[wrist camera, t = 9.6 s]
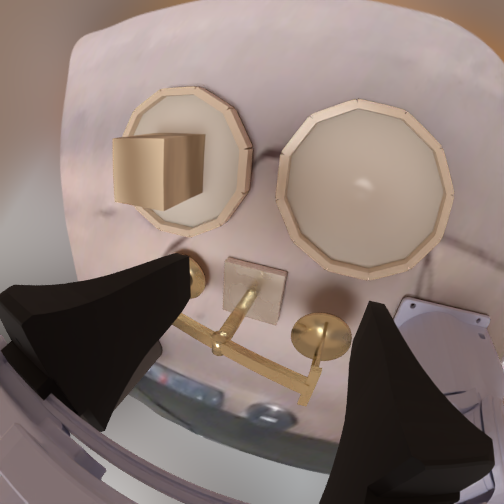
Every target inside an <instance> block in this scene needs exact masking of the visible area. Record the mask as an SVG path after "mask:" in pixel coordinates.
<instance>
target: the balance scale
mask: <svg viewBox="0 0 504 504" xmlns="http://www.w3.org/2000/svg"><path fill="white" fill-rule="evenodd" d="M178 254H179V253H178ZM182 255H184V254H182ZM186 256H187V255H186ZM189 260H190V287H191V298H196V297H198V296H199V295H200V294H201V293H202V292H203V290H204V288H205V276H204V273H203V271H202V269H201V268H200V266H199V265H198V264H197V263H196V262H195V261H194V260H193V259H192V258H190V257H189ZM286 276H287V272H286V271H282V270H278V269H274V268H270V267H266V266H262V265H258V264H254V263H250V262H246V261H242V260H238V259H235V258H231V257H228V258H227V259H226V260H225V264H224V288H223V310H226V311H229V312H232V313H231V314H230V316H229V317H228V319H227V320H226V321H225V323H224V324H223V326H222V327H221V329H220V330H219V331H216V332H214V331H212V330H210V329H209V328H207V327H205V326H203V325H201V324H200V323H198V322H196V321H194V320H193V319H191V318H189V317H187V316H186V315H184V314H182V313H181V314H180V315H179V316H178V318H177V319H176V320H175V321H174V322H173V324H172V325H174V326H175V327H177V328H179V329H180V330H182V331H183V332H185V333H187V334H188V335H190V336H192V337H193V338H195V339H197V340H198V341H200V342H202V343H203V344H205V345H207V346H209V347H210V348H212V353H213V354H214V355H217V356H222V355H224V356H226V357H228V358H230V359H232V360H234V361H235V362H237V363H239V364H241V365H243V366H245V367H247V368H249V369H251V370H252V371H254V372H256V373H258V374H260V375H262V376H264V377H266V378H268V379H270V380H272V381H274V382H277V383H279V384H281V385H283V386H285V387H287V388H289V389H291V390H294V391H296V392H298V393H300V394H301V395H300V397H299V400H298V403H297V404H298V405H302V406H307V404H308V401H309V399H310V397H311V395H312V393H313V390H314V388H315V386H316V384H317V381H318V379H319V377H320V375H321V371H322V368H319V364H320V361H329V360H333V359H336V358H339V357H341V356H342V355H344V354H345V353H346V352H347V351H348V349H349V347H350V345H351V340H352V334H351V330H350V328H349V326H348V325H347V324H346V323H345V322H344V321H343V320H342V319H340V318H339V317H337V316H335V315H332V314H328V313H311V314H308V315H305V316H303V317H301V318H300V319H299V320H298V321H297V322H296V323H295V324H294V326H293V329H292V332H291V340H292V343H293V345H294V347H295V348H296V349H297V351H298V352H300V353H301V354H302V355H304V356H306V357H308V358H310V359H313V361H312V365H311V368H310V372H309V375H308V377H306V376H303V375H301V374H299V373H297V372H294V371H292V370H290V369H288V368H286V367H283V366H281V365H279V364H277V363H275V362H273V361H271V360H269V359H267V358H264V357H262V356H260V355H258V354H256V353H254V352H252V351H250V350H248V349H246V348H244V347H242V346H240V345H239V344H237V343H235V342H233V341H231V338H232V337H233V335H234V334H235V332H236V330H237V329H238V327H239V325H240V324H241V322H242V321H243V319H244V317H249V318H252V319H255V320H259V321H262V322H266V323H269V324H273V325H276V324H277V322H278V320H279V314H280V309H281V304H282V298H283V293H284V288H285V282H286ZM191 298H190V299H191ZM315 362H316V363H315Z"/></svg>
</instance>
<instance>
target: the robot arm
mask: <svg viewBox="0 0 504 504" xmlns="http://www.w3.org/2000/svg"><path fill="white" fill-rule="evenodd" d="M190 298H191V287H190V260H189V256H186V255H182V254H178V253H175V254H171V255H168V256H164V257H161V258H158V259H155V260H152V261H150V262H147V263H144V264H141V265H138V266H135V267H132V268H129V269H126V270H123V271H120V272H117V273H113V274H110V275H107V276H103V277H99V278H94V279H90V280H85V281H79V282H73V283H67V284H57V285H40V286H39V285H38V286H37V285H36V286H35V285H13V286H11V287H9V288H7V289H6V290H5V291H3V292H2V293H1V294H0V319H1V321H2V323H3V325H4V327H5V329H6V331H7V333H8V335H9V337H10V338H11V340H12V341H11V342H10V343H9V344H7V343H6V341H5V339H4V338H3V337H2V336H1V334H0V474H1V477H0V504H138V503H136V502H134V501H132V500H131V499H129V498H127V497H126V496H124V495H122V494H121V493H119V492H118V491H116V490H115V489H113V488H112V487H110V486H109V485H107V484H106V483H104V482H103V481H102V480H101V478H102V476H103V475H104V473H105V472H106V469H105V468H104V467H103V466H102V465H101V464H99V463H98V462H97V461H96V460H94V459H93V458H92V457H91V456H90V455H89V454H88V453H87V452H86V451H85V450H84V449H83V448H82V447H81V446H80V445H78V444H77V443H76V442H75V441H74V440H73V439H71V438H70V433H71V434H73V435H74V436H75V437H76V438H77V439H79V440H80V441H81V442H83V443H84V444H85V445H86V446H88V447H89V448H90V449H92V450H93V451H95V452H96V453H97V454H99V455H100V456H101V457H103V458H104V459H106V460H107V461H109V462H110V463H112V464H113V465H115V466H116V467H118V468H119V469H121V470H122V471H124V472H126V473H127V474H129V475H130V476H132V477H134V478H136V479H137V480H139V481H141V482H143V483H144V484H146V485H148V486H150V487H152V488H154V489H155V490H157V491H160V492H161V493H164V494H165V495H167V496H169V497H172V498H174V499H176V500H178V501H180V502H182V503H185V504H249V503H245V502H243V501H239V500H236V499H233V498H230V497H227V496H224V495H221V494H218V493H216V492H213V491H210V490H207V489H205V488H203V487H200V486H198V485H195V484H193V483H191V482H188V481H186V480H184V479H181V478H179V477H177V476H175V475H173V474H171V473H169V472H167V471H165V470H162V469H161V468H159V467H157V466H155V465H153V464H151V463H149V462H147V461H146V460H144V459H142V458H140V457H138V456H137V455H135V454H133V453H132V452H130V451H128V450H127V449H125V448H123V447H122V446H120V445H119V444H117V443H115V442H114V441H112V440H111V439H109V438H108V437H106V436H105V435H103V434H102V433H101V432H102V431H105V429H106V426H107V424H108V422H109V420H110V417H111V415H112V413H113V411H114V408H115V406H116V404H117V403H118V401H119V399H120V397H121V395H122V393H123V391H124V389H125V387H126V386H127V384H128V382H129V381H130V379H131V377H132V376H133V374H134V372H135V371H136V369H137V368H138V366H139V365H140V363H141V362H142V360H143V359H144V357H145V356H146V355H147V353H148V352H149V351H150V349H151V348H152V347H153V346H154V345H155V344H156V342H157V341H158V340H159V339H160V338H161V337H162V335H163V334H164V333H165V332H166V331H167V330H168V328H169V327H170V326H171V325H172V324H173V322H174V321H175V320H176V319H177V318H178V316H179V315H180V314H181V312H182V311H183V309H184V308H185V306H186V304H187V303H188V301H189V299H190ZM412 303H415V305H414V306H410V305H411V304H412ZM478 318H479V319H478ZM477 319H478V320H477ZM489 323H490V317H489V316H488V315H483V314H479V313H475V312H470V311H466V310H462V309H457V308H453V307H449V306H445V305H440V304H436V303H432V302H428V301H423V300H419V299H415V298H411V297H406V298H404V299H403V300H402V301H401V304H400V306H399V308H398V310H397V313H396V315H395V317H394V319H393V318H392V317H391V315H390V313H389V311H388V309H387V308H386V306H385V305H384V304H381V303H377V302H372V301H369V303H368V305H367V308H366V310H365V313H364V315H363V318H362V320H361V323H360V325H359V328H358V330H357V333H356V335H355V337H354V339H353V344H352V350H351V356H350V362H349V377H348V392H347V405H346V415H345V422H344V426H343V431H342V435H341V439H340V443H339V447H338V450H337V454H336V457H335V461H334V464H333V467H332V470H331V473H330V476H329V479H328V482H327V485H326V488H325V490H324V493H323V495H322V498H321V500H320V502H319V504H504V405H503V403H502V401H503V397H504V371H503V368H502V365H501V362H500V360H499V357H498V354H497V352H496V349H495V347H494V345H493V342H492V340H491V337H490V335H489V333H488V331H487V327H488V325H489Z"/></svg>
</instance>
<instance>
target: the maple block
mask: <svg viewBox="0 0 504 504" xmlns="http://www.w3.org/2000/svg"><path fill="white" fill-rule="evenodd" d="M204 151H205V134H188V133H151V134H142V135H135V136H127V137H121V138H114V139H113V179H114V197H115V202H119V203H124V204H129V205H134V206H140V207H145V208H150V209H155V210H160V211H165V210H167V209H169V208H171V207H174V206H176V205H178V204H180V203H182V202H184V201H186V200H188V199H190V198H192V197H194V196H196V195H199V194H201V193H203V171H204Z"/></svg>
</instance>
